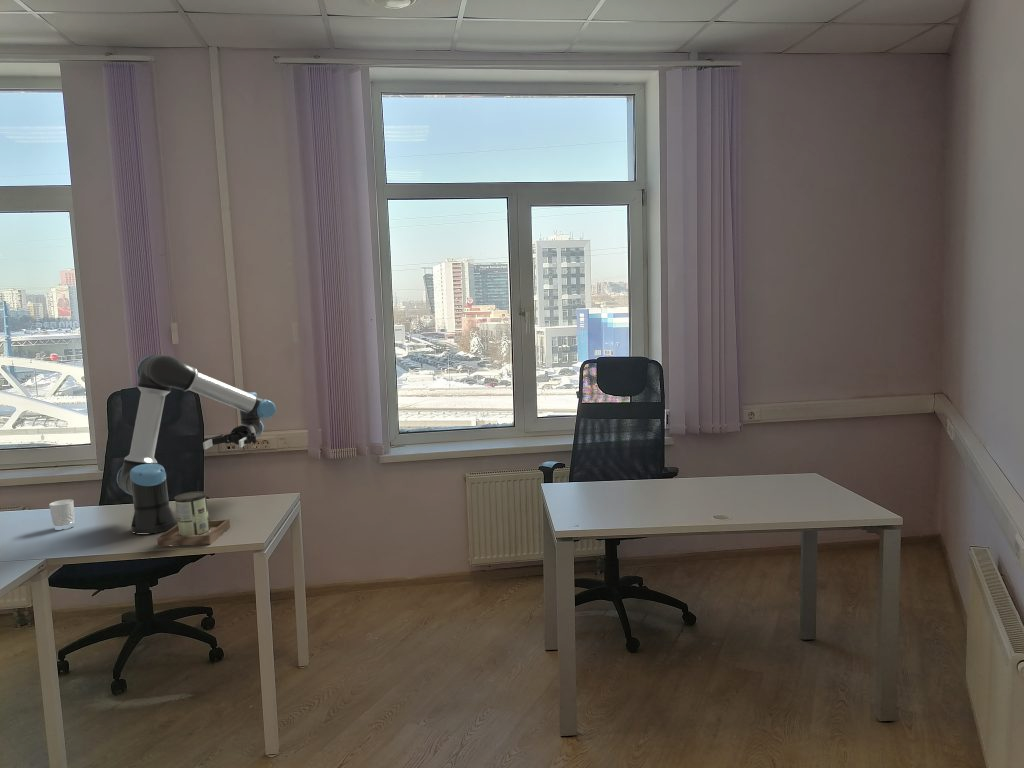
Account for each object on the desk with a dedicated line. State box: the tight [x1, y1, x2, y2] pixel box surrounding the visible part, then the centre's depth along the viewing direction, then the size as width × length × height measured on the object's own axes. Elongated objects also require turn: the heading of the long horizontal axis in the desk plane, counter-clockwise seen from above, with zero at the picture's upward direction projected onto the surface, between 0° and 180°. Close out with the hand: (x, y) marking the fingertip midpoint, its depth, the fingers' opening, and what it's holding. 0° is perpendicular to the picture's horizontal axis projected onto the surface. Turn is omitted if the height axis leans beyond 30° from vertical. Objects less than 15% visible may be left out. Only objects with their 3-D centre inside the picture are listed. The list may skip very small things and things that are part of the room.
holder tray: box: [156, 519, 231, 547], centre depth 267 cm, size 18×18×3 cm
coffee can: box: [174, 490, 210, 536], centre depth 266 cm, size 10×10×14 cm
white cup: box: [48, 499, 76, 526], centre depth 287 cm, size 8×8×10 cm
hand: (222, 445), depth 287 cm, fingers open, 13 cm apart
